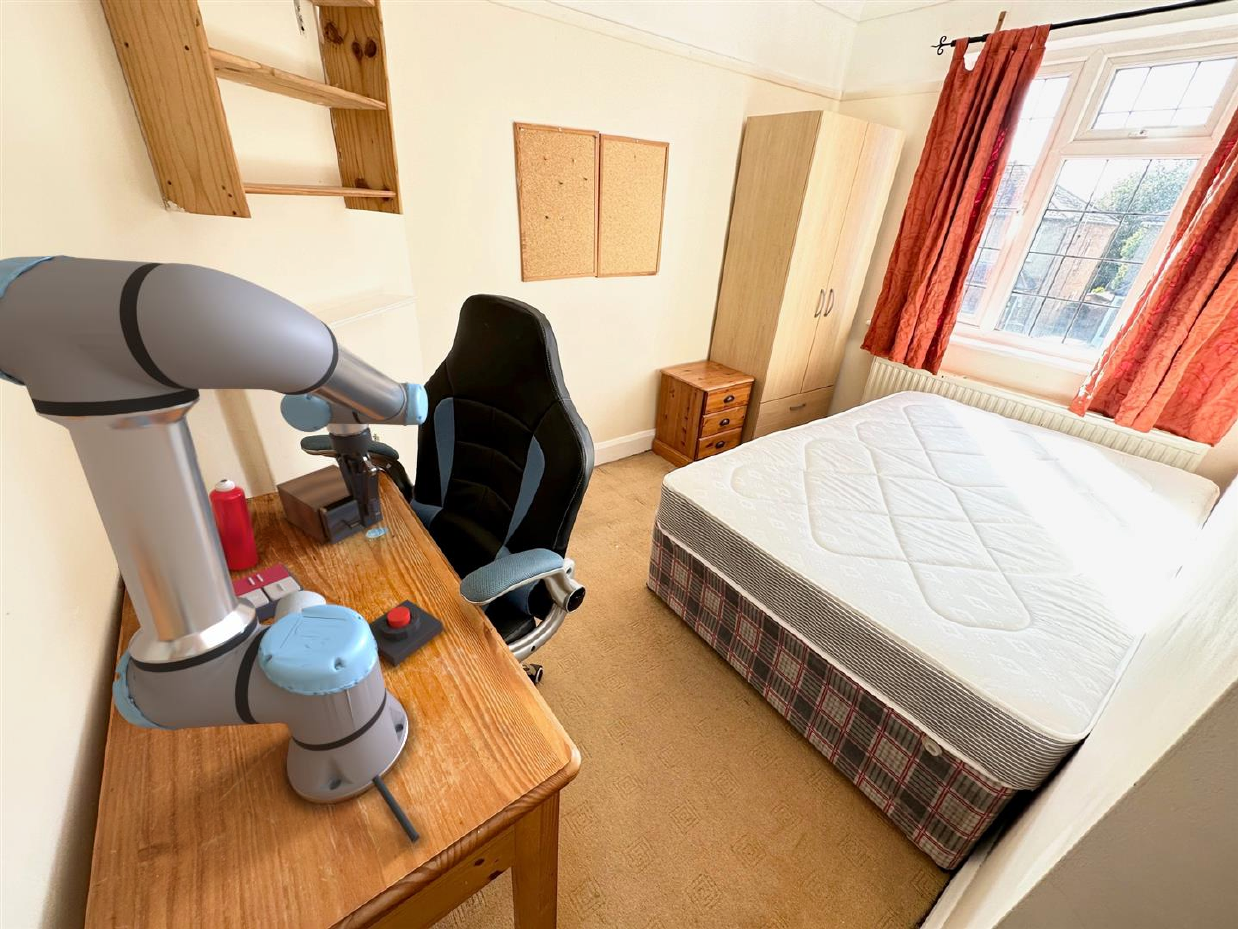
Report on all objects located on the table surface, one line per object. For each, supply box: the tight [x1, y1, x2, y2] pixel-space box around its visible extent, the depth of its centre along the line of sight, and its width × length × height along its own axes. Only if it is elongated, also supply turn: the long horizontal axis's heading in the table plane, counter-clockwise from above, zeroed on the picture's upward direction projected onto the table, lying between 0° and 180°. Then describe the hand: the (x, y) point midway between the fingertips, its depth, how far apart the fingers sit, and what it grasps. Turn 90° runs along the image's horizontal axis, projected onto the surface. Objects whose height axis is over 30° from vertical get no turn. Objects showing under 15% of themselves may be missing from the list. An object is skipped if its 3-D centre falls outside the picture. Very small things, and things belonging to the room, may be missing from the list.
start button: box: [387, 606, 410, 628], centre depth 86 cm, size 4×4×2 cm
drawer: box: [317, 495, 384, 545], centre depth 113 cm, size 19×12×8 cm, turn 58°
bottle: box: [208, 478, 260, 572], centre depth 97 cm, size 6×5×20 cm
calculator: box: [232, 563, 305, 623], centre depth 90 cm, size 11×4×15 cm
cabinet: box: [275, 463, 350, 544], centre depth 116 cm, size 16×14×10 cm
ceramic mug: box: [273, 590, 327, 624], centre depth 85 cm, size 11×8×8 cm
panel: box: [368, 598, 444, 668], centre depth 87 cm, size 10×10×4 cm
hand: (369, 524), depth 108 cm, fingers closed
